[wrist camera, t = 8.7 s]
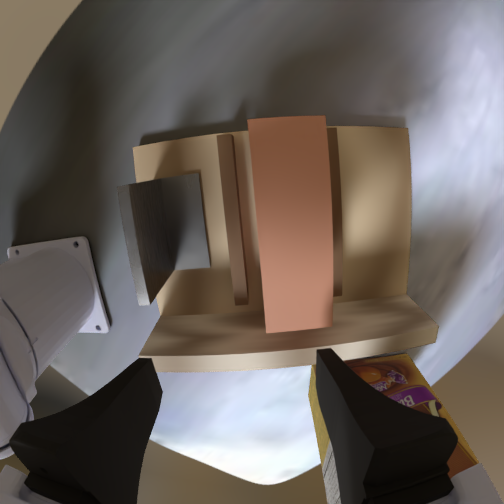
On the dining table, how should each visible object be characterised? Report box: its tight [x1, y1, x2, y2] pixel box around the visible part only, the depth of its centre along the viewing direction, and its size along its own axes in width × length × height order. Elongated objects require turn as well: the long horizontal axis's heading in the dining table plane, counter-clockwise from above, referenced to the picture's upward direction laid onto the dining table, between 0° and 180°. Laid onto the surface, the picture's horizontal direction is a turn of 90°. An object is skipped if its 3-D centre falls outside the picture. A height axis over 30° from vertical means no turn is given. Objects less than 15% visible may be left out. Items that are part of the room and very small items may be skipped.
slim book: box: [247, 115, 333, 333], centre depth 15 cm, size 3×9×7 cm, turn 5°
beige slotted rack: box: [133, 126, 439, 372], centre depth 17 cm, size 18×13×6 cm
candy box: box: [308, 354, 479, 504], centre depth 16 cm, size 9×4×15 cm, turn 90°
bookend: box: [117, 173, 211, 305], centre depth 16 cm, size 3×6×6 cm, turn 5°
